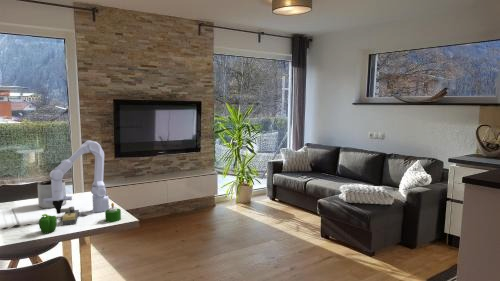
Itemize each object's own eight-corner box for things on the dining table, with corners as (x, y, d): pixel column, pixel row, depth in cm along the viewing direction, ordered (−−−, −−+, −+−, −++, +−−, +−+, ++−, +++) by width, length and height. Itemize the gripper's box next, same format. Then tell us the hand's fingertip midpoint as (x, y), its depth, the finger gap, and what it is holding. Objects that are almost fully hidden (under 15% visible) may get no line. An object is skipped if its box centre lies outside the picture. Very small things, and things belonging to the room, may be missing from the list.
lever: (74, 211, 217) (74, 207, 216) (56, 213, 213) (56, 209, 212) (74, 210, 219) (74, 206, 219) (56, 212, 215) (56, 208, 215)
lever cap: (75, 215, 210) (75, 212, 209) (74, 219, 203) (74, 215, 203) (64, 216, 207) (64, 213, 207) (62, 220, 201) (62, 217, 201)
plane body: (66, 214, 219) (65, 210, 219) (78, 213, 222) (78, 209, 221) (61, 225, 201) (61, 221, 200) (76, 223, 203) (75, 219, 203)
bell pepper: (54, 227, 197) (52, 209, 196) (59, 231, 191) (58, 213, 190) (36, 231, 191) (35, 213, 190) (42, 235, 185) (40, 216, 184)
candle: (123, 218, 213) (123, 201, 212) (115, 222, 205) (115, 205, 204) (111, 217, 215) (110, 200, 214) (102, 221, 207) (101, 204, 206)
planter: (35, 209, 230) (33, 185, 228) (43, 202, 246) (41, 180, 244) (63, 207, 234) (61, 184, 232) (69, 201, 249) (67, 178, 248)
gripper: (71, 187, 217) (73, 209, 218) (44, 190, 212) (45, 212, 213) (70, 190, 210) (72, 213, 212) (42, 192, 205) (43, 216, 207)
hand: (58, 213), depth 212 cm, fingers closed
